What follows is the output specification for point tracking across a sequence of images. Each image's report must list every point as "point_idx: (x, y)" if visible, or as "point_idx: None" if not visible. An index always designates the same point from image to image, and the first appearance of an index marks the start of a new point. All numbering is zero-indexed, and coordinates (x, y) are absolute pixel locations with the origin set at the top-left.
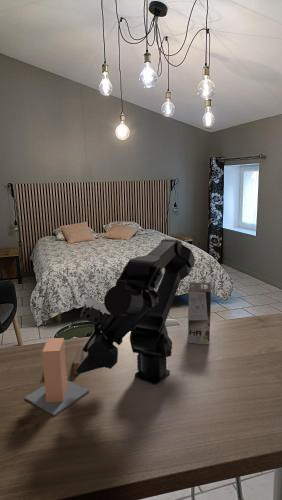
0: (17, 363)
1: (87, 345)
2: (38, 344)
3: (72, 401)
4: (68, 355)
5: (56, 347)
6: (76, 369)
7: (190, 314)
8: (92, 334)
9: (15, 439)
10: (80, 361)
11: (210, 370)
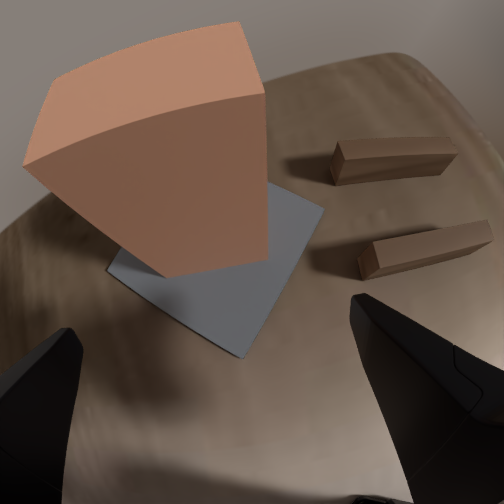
0: (363, 79)
1: (372, 336)
2: (461, 106)
3: (167, 312)
4: (457, 198)
5: (75, 118)
6: (59, 330)
7: None
8: (447, 391)
9: (51, 210)
10: (412, 264)
11: None
